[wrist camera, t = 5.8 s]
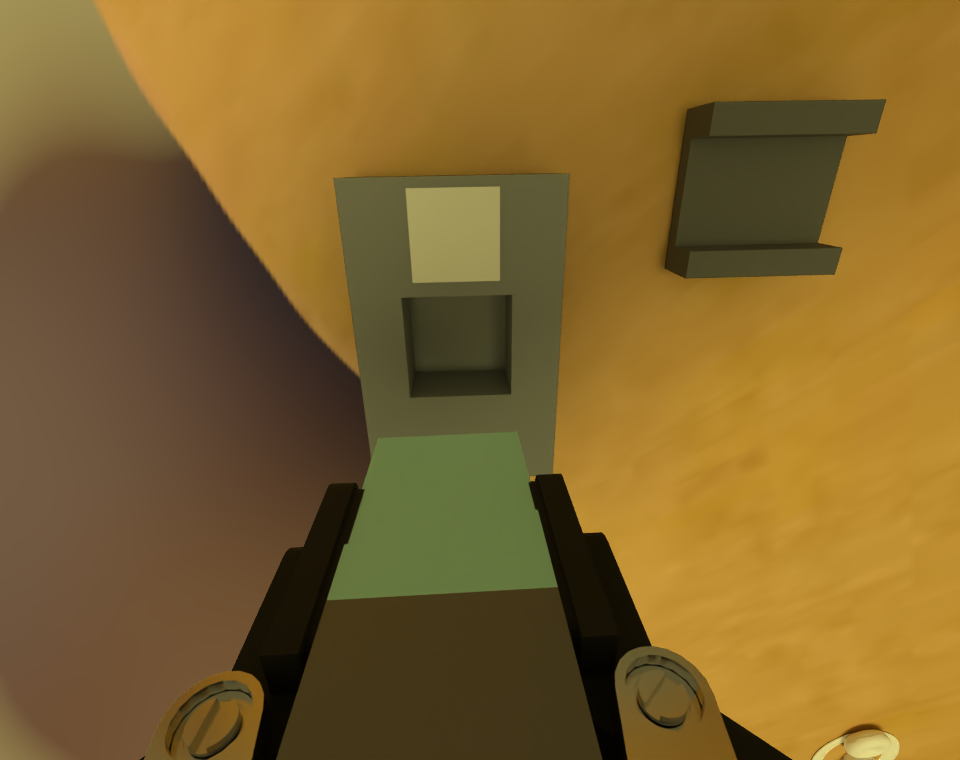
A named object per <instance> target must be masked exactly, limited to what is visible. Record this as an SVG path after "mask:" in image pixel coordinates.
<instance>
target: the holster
mask: <svg viewBox="0 0 960 760" xmlns="http://www.w3.org/2000/svg"><path fill="white" fill-rule="evenodd" d="M885 102H886V99H882V100H813V101H744V102H713V103H709V104H705V105H702V106H698V107H694V108H691V109H688V112H687V118H686V125H685V132H684V139H683V146H682V153H681V160H680V167H679V174H678V181H677V187H676V194H675V201H674V208H673V215H672V222H671V229H670V236H669V243H668V250H667V256H666V263H665V269H667V270H669V271H671V272H673V273H675V274H678V275H680V276H682V277H684V278H720V277H759V276H798V275H835V272H836V268H837V265H838V262H839V258H840V255H841V251H842V248H840V247H835V246H830V245H825V244H820V243H818V240H819V236H820V233H821V229H822V225H823V222H824V218H825V214H826V211H827V207H828V203H829V200H830V196H831V192H832V189H833V185H834V181H835V178H836V174H837V170H838V167H839V163H840V159H841V156H842V152H843V148H844V145H845V141H846V137H847V136H851V135H862V134H873V133H877V129H878V126H879V123H880V119H881V116H882V113H883V109H884V106H885Z"/></svg>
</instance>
